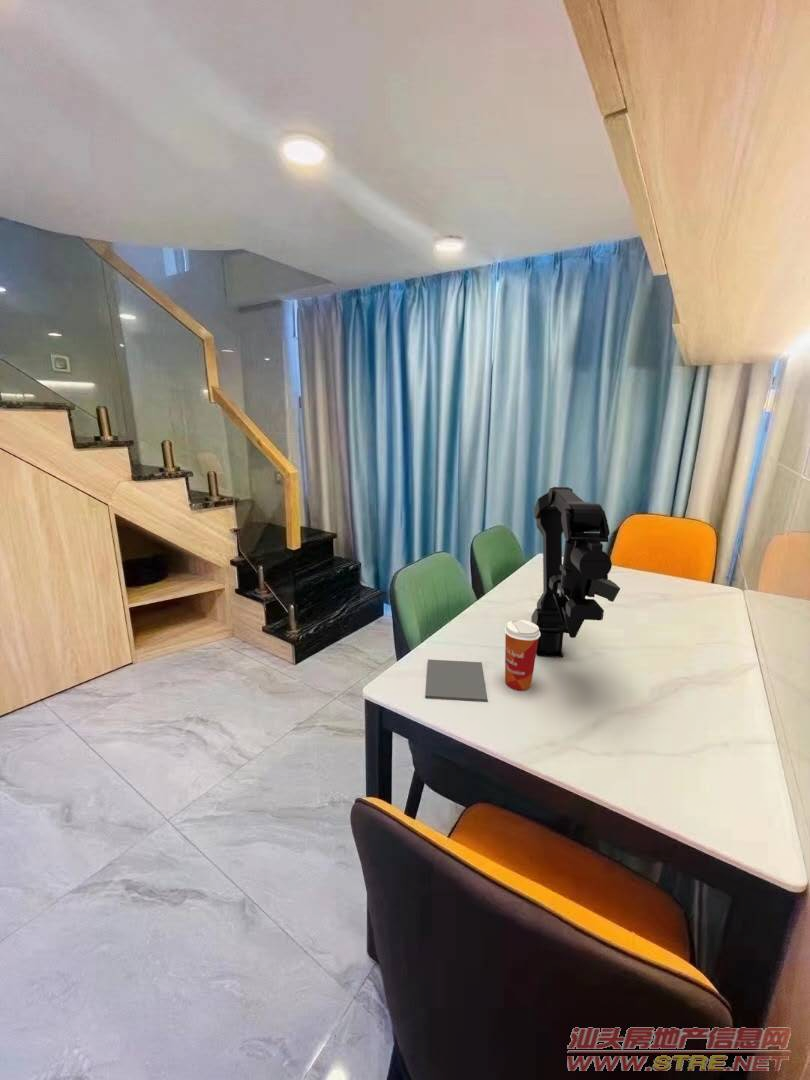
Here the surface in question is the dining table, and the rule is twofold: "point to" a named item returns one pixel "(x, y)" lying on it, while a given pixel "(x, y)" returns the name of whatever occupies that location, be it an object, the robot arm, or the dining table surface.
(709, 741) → the dining table surface
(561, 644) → the robot arm
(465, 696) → the mat
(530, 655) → the paper cup
